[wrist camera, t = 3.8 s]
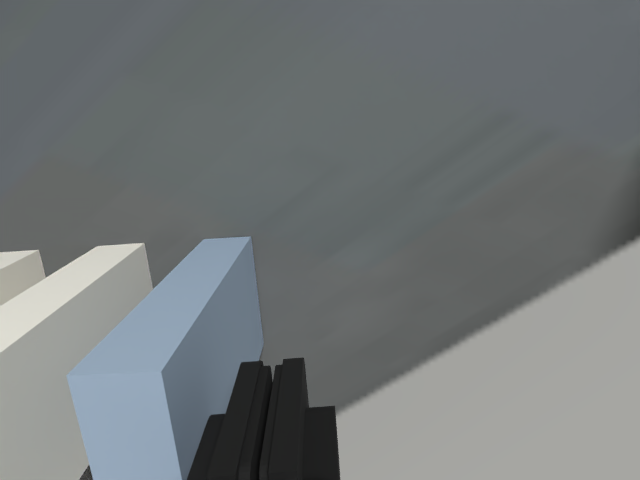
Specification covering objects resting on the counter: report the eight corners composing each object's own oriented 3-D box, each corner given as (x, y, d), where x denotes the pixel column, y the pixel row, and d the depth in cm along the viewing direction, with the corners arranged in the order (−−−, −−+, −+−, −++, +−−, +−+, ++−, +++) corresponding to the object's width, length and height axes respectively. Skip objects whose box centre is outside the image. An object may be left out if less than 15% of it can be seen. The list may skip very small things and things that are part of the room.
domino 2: (251, 236, 19) (161, 371, 9) (263, 344, 20) (196, 558, 11) (203, 239, 19) (66, 375, 9) (219, 346, 20) (114, 560, 11)
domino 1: (144, 243, 19) (-38, 381, 9) (164, 349, 20) (23, 564, 11) (97, 246, 19) (-132, 387, 9) (120, 351, 20) (-59, 568, 11)
